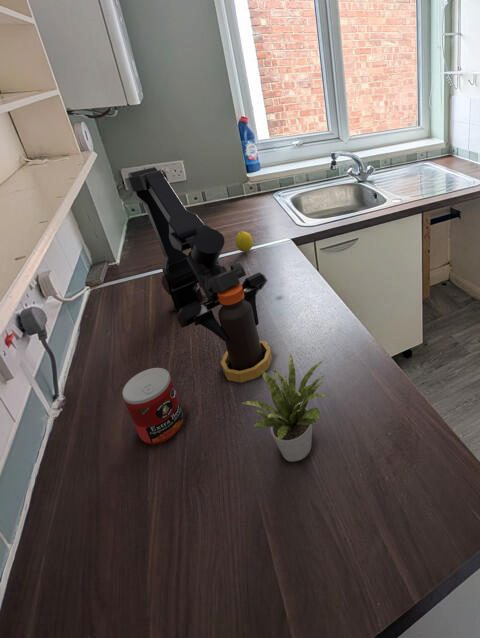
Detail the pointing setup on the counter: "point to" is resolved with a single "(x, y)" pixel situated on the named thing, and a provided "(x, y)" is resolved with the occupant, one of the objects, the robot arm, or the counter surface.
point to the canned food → (153, 405)
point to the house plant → (290, 412)
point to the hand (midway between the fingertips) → (242, 332)
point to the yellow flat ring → (251, 372)
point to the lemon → (244, 241)
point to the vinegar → (239, 329)
